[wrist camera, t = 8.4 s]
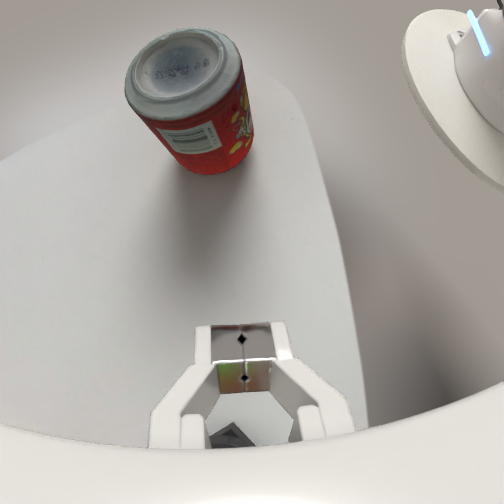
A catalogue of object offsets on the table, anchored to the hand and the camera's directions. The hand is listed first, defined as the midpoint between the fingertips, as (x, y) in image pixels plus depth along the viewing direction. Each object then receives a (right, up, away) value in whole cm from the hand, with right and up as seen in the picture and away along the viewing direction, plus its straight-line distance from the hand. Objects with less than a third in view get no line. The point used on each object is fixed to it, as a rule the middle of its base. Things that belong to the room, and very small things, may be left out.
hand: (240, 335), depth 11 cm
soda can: (-3, +12, +16) cm, 21 cm away
